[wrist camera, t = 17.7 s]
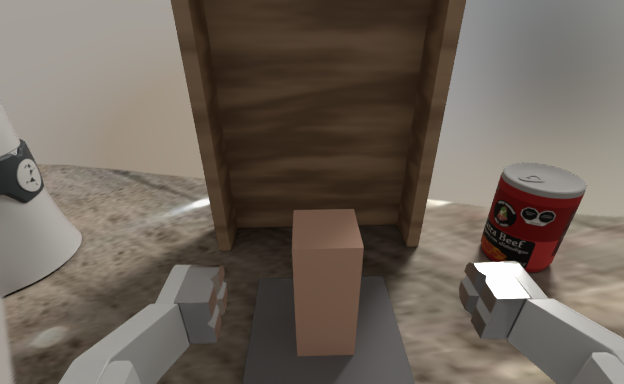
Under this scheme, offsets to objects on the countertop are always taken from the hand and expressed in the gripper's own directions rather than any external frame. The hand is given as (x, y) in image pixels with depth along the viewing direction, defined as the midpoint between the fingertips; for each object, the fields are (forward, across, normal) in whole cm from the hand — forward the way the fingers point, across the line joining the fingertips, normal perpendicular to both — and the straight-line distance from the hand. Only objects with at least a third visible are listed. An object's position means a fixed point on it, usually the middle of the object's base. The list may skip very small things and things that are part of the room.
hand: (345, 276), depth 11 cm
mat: (+12, 0, +20) cm, 23 cm away
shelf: (+25, 0, +20) cm, 32 cm away
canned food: (+23, -25, +20) cm, 39 cm away
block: (+12, 0, +19) cm, 22 cm away
